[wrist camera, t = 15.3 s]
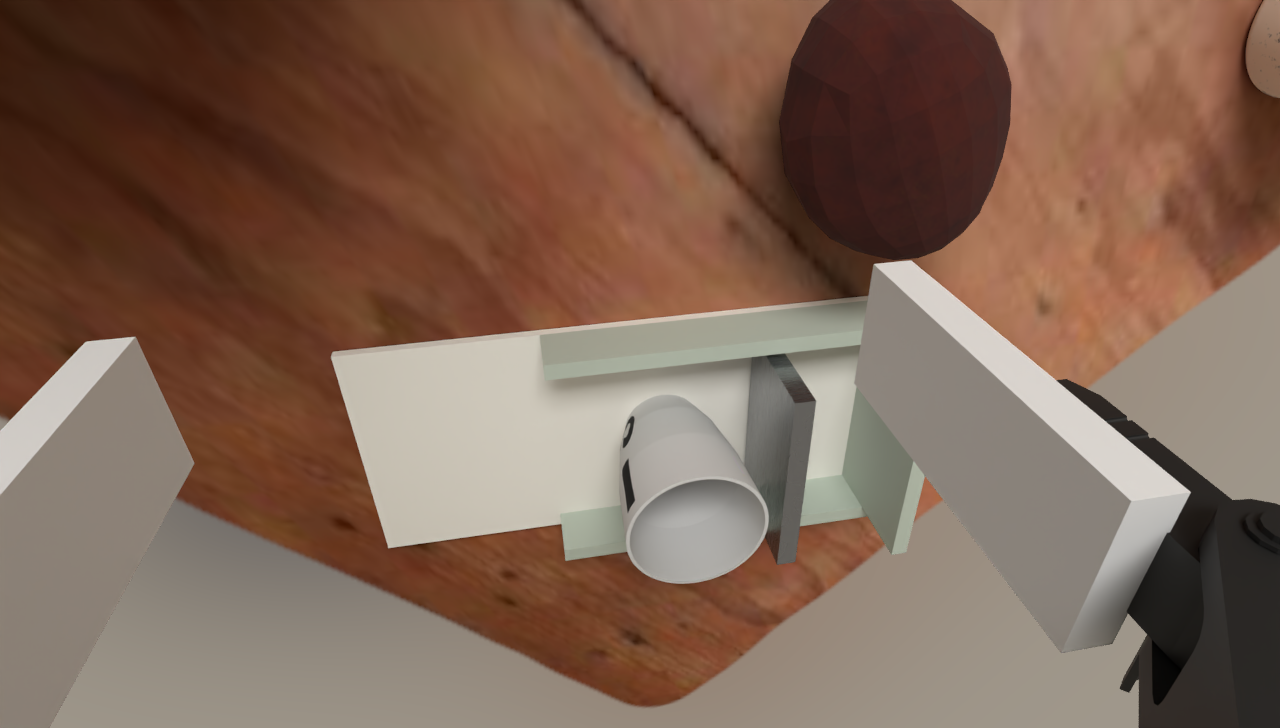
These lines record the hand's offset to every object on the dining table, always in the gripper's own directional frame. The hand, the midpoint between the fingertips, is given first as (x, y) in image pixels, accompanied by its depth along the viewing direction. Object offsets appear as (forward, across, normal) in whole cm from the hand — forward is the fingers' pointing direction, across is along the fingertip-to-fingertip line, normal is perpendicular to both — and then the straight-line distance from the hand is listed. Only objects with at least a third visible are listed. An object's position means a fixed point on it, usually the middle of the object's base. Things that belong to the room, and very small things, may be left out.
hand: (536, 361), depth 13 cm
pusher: (+26, +14, -22) cm, 37 cm away
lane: (+27, +5, -22) cm, 35 cm away
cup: (+26, +8, -22) cm, 35 cm away
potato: (+27, +18, -2) cm, 32 cm away
